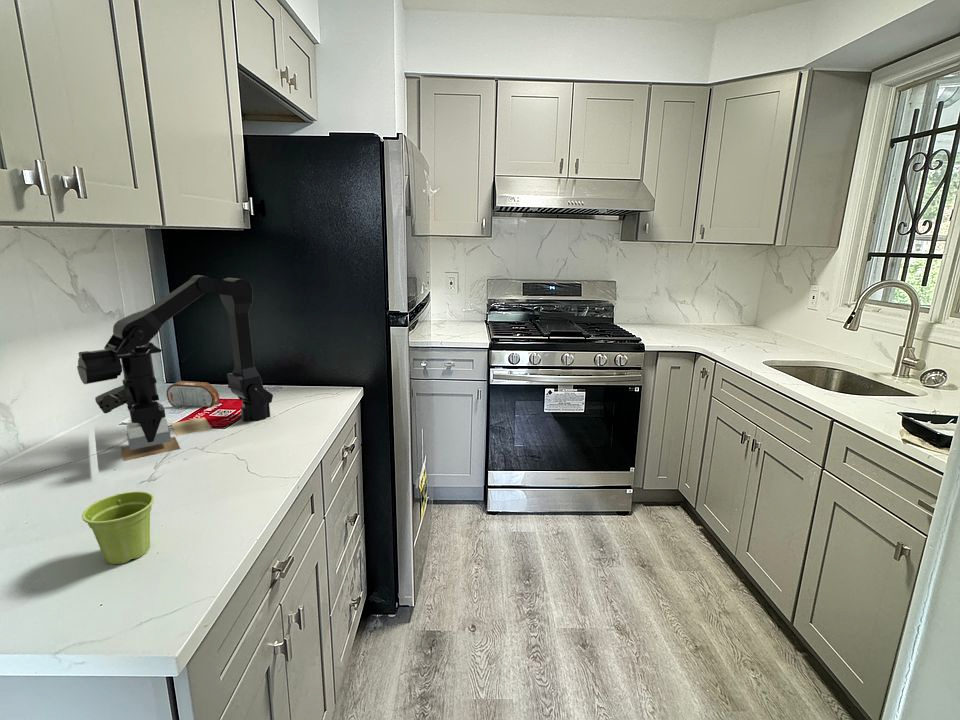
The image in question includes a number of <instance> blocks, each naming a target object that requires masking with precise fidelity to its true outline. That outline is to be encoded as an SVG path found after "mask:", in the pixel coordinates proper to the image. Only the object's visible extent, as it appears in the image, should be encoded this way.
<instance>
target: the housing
mask: <svg viewBox="0 0 960 720" xmlns="http://www.w3.org/2000/svg"><path fill="white" fill-rule="evenodd" d="M125 425H126V431H127V432H126V437H127V444H128V446H129V447H130V450H133V449H138V448H143V447H147V446H152V445H157V444H162V443H167V442H171V437H172V436H171V431H170V429H169V427H168V426H169V425H168V421H167V418H166V417H164V418H162V419H161V422H160V424H159V427H158V430H157V433H156V436H155V439H154V441H153V442H148V441H147V439H146V437H145V434H144V432H143V430H142V427H141V425H140V424H138V423H132V421H128V422H125Z"/></svg>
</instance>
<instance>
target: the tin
mask: <svg viewBox="0 0 960 720" xmlns="http://www.w3.org/2000/svg"><path fill="white" fill-rule="evenodd" d="M166 398H167V400H168V403H169V404H170V405H171V406H172V407H179V406H190V407H209V408H212V407H215V406H216V405H218V404H219V401H220V394H219V392H218V390H217V389H216V387H215V386H213V385H212V384H210V383H209V382H206V381H205V382H203V381H201V382H200V381H188V380H186V381H185V380H178V381H175V382H174V383H173V384H171V385H169V386H168V387H167V389H166Z"/></svg>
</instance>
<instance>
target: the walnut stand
mask: <svg viewBox="0 0 960 720" xmlns="http://www.w3.org/2000/svg"><path fill="white" fill-rule="evenodd" d="M170 437H171V442H167V443H162V444H157V445H152V446H147V447H143V448H138V449H133V450H130V447H129V445H126V446H121V447H120V451H121V454H122V458H123V459H122V460H123V462H125V461H127V462H128V461H131V460H136V459H140V458H144V457H150V456H155V455H159V454H163V453H169V452H173V451H177V450H182V449H181V447H180V444H179V442H178V441H177V439H176V437H175V436H170Z"/></svg>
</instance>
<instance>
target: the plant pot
mask: <svg viewBox="0 0 960 720" xmlns="http://www.w3.org/2000/svg"><path fill="white" fill-rule="evenodd" d="M154 501H155V497H154V495H153V493H150V492H148V491H144V490H143V491H134V490H133V491H125V492H121V493H116V494H113V495H109V496H107V497H104V498H102V499H99V500H98V501H95V502H94V503H92V504H91V505H89V506H88V507H86V508H85V509H84V510H83V512H82V513H81V519H82V521H83V522H85V523H87V525H88V527H89V528H90V529H91V531H92V532H93V535H94V538H95V540H96V542H97V544H98V546H99V547H98V548H99V550H100V552H101V555H102V557H103V558H104V559H103V560H104V561H105V562H106V563H107V564H110V565H118V564H125V563H128V562H129V561H131V560H132V559H138V558H141V557H142V556H144V555H145V554H146V553H147V552H148V551H149V549H150V548H151V511H152V506H153V503H154Z"/></svg>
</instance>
